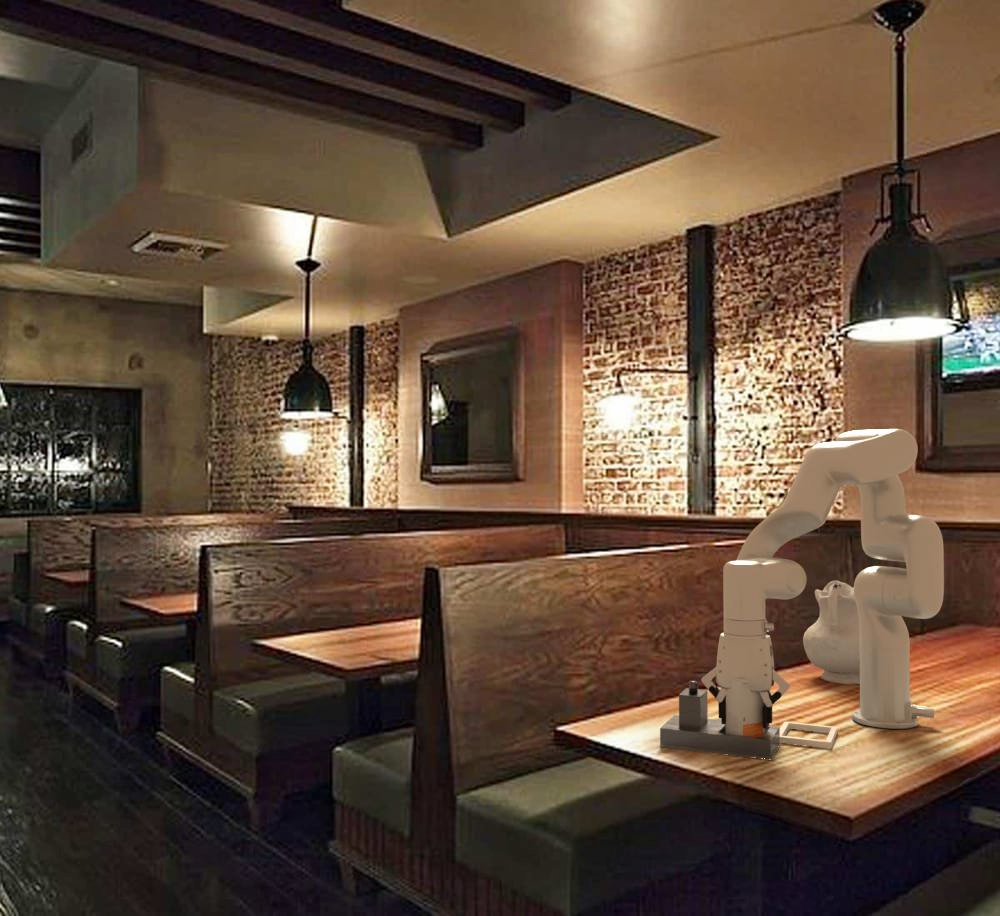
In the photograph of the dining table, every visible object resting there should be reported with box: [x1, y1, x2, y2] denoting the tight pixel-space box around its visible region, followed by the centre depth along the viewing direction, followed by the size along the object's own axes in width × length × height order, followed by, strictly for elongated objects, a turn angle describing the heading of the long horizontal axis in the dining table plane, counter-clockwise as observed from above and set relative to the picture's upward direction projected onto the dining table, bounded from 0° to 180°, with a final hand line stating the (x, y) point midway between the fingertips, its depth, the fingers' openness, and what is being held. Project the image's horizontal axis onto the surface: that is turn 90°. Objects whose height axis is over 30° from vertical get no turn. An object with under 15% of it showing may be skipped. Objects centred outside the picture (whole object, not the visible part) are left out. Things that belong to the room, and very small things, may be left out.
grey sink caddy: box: [659, 680, 781, 760], centre depth 179 cm, size 20×10×12 cm, turn 65°
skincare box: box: [726, 678, 765, 738], centre depth 177 cm, size 6×4×12 cm
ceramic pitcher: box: [802, 579, 860, 686], centre depth 235 cm, size 22×20×25 cm
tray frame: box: [780, 721, 838, 750], centre depth 184 cm, size 10×12×1 cm
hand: (745, 723), depth 177 cm, fingers closed on skincare box, 6 cm apart
